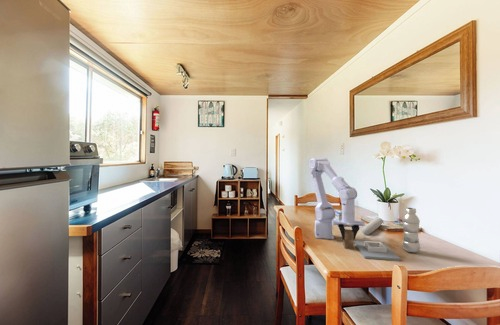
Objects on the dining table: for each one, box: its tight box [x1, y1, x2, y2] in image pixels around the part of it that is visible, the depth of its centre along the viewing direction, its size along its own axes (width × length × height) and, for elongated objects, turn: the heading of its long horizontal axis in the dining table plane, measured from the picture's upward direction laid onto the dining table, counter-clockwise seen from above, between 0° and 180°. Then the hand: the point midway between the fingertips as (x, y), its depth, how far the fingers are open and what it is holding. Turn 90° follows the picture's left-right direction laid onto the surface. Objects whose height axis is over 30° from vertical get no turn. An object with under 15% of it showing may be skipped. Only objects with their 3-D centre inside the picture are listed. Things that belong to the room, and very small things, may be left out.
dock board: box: [354, 240, 402, 262], centre depth 103 cm, size 14×18×3 cm
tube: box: [361, 217, 384, 236], centre depth 132 cm, size 5×5×25 cm
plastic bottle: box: [401, 207, 421, 254], centre depth 101 cm, size 6×7×20 cm
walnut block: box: [342, 228, 355, 250], centre depth 108 cm, size 4×4×8 cm
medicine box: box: [333, 209, 346, 227], centre depth 144 cm, size 8×4×9 cm, turn 5°
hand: (348, 239), depth 108 cm, fingers closed on walnut block, 4 cm apart
